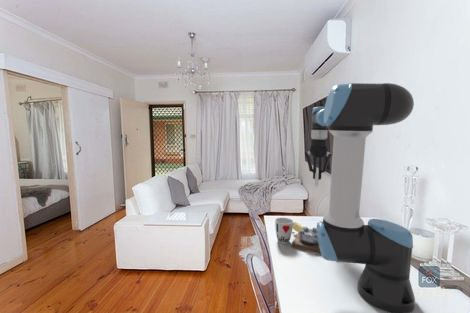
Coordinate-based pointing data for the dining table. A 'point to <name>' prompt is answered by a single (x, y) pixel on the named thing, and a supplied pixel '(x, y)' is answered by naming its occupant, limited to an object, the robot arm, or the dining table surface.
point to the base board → (304, 245)
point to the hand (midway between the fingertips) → (316, 185)
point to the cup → (283, 229)
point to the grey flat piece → (306, 234)
